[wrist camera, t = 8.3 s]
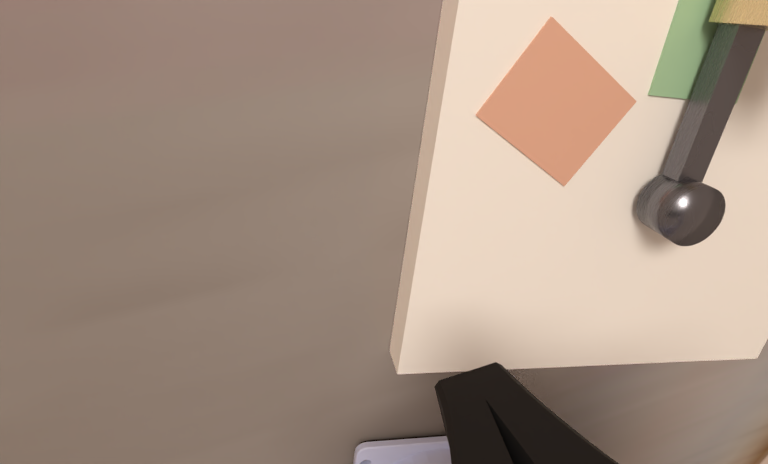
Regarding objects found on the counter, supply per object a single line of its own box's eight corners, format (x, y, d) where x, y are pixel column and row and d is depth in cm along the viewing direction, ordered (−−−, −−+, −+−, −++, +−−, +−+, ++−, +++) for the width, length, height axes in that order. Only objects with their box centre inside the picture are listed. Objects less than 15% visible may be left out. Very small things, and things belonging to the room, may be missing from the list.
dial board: (731, 339, 25) (759, 359, 24) (389, 350, 21) (398, 375, 20) (902, -6, 19) (953, -6, 17) (456, -88, 15) (476, -96, 13)
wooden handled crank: (677, 228, 19) (802, 301, 15) (628, 226, 19) (742, 301, 14) (787, -39, 15) (1000, -52, 11) (730, -52, 15) (929, -70, 10)
